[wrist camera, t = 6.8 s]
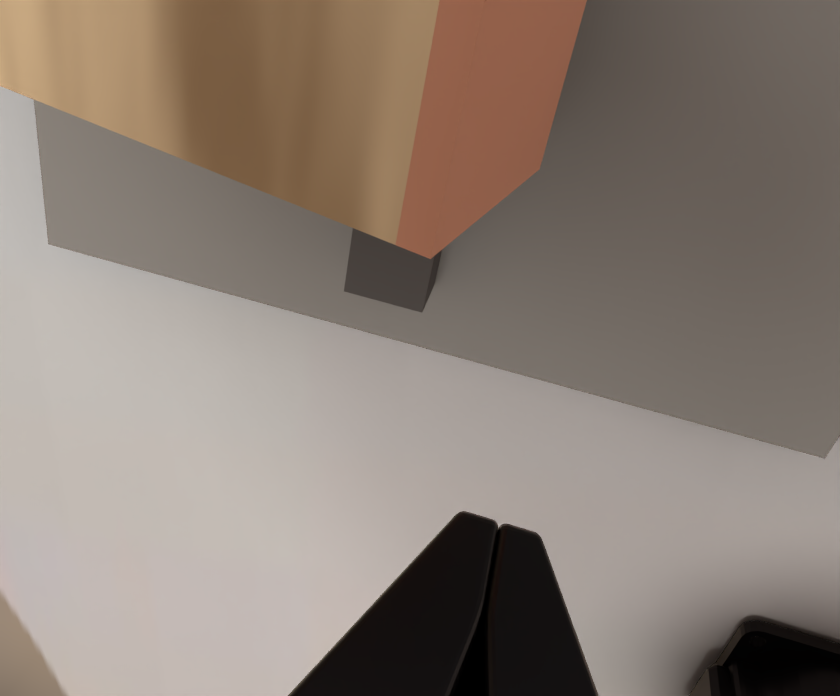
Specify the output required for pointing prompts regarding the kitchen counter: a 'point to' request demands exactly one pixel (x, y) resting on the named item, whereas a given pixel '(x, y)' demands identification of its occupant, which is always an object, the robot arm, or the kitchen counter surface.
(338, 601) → the kitchen counter surface
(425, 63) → the maple block
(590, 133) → the rubber mat
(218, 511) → the kitchen counter surface
